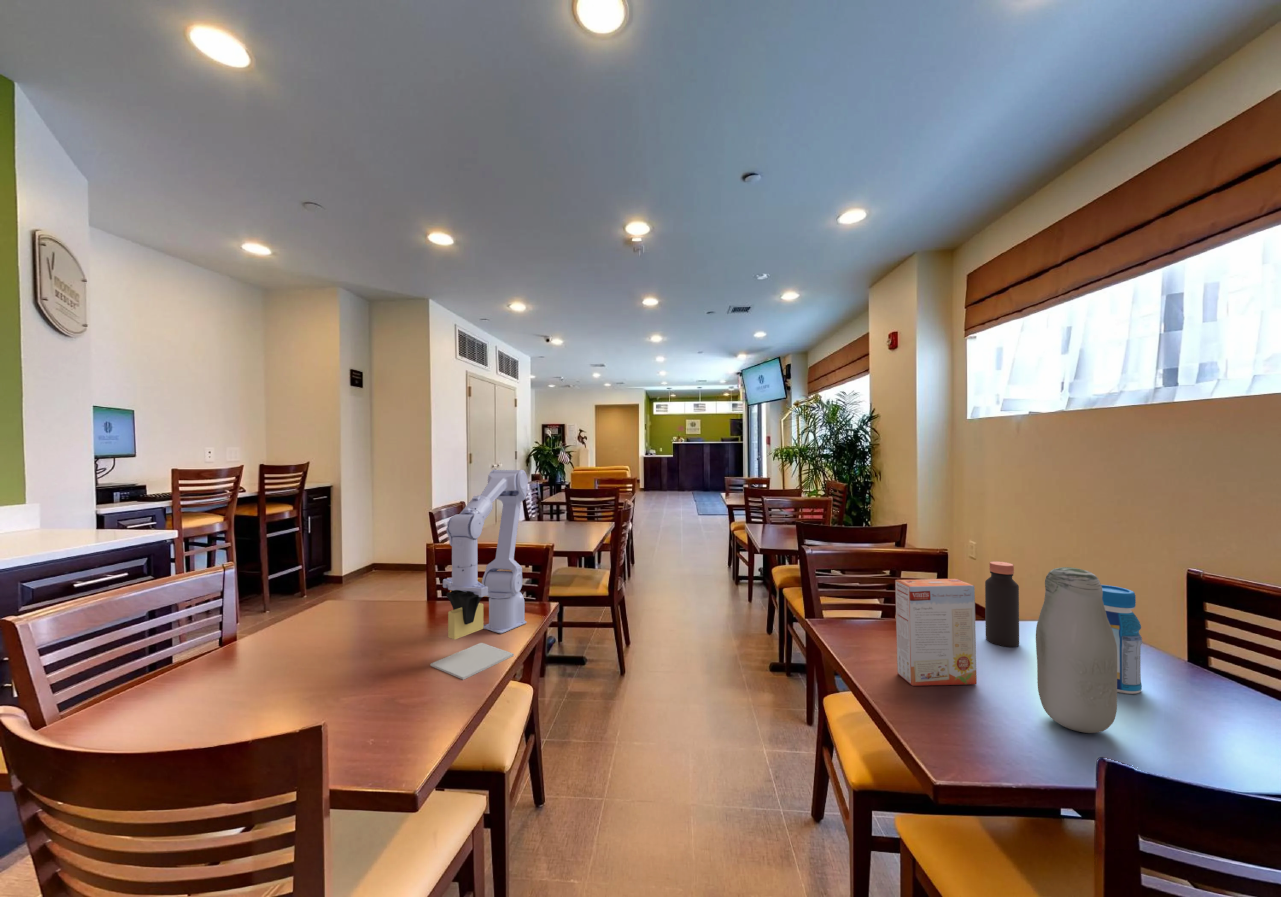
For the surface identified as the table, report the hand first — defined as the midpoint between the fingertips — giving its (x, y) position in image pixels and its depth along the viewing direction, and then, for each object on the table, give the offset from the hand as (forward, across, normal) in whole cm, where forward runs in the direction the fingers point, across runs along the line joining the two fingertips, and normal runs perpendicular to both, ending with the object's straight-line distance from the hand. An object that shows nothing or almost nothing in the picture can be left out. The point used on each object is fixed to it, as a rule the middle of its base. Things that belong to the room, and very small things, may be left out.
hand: (464, 621), depth 111 cm
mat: (+8, +3, 0) cm, 9 cm away
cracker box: (+9, +94, +48) cm, 106 cm away
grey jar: (+9, +115, +41) cm, 122 cm away
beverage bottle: (+9, +125, +65) cm, 141 cm away
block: (+3, 0, 0) cm, 3 cm away
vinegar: (+9, +108, +80) cm, 135 cm away
